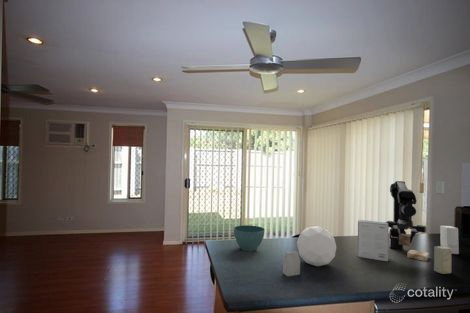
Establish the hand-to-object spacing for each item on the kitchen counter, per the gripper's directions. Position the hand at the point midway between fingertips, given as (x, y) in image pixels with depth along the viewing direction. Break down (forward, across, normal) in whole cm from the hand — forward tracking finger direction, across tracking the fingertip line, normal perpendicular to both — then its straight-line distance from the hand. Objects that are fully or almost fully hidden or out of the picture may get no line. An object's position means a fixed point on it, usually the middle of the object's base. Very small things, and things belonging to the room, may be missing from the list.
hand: (405, 242), depth 153 cm
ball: (+11, -32, -41) cm, 53 cm away
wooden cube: (+1, 0, 0) cm, 1 cm away
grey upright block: (+11, -34, -62) cm, 71 cm away
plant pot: (+11, -71, -48) cm, 86 cm away
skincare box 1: (+10, +16, +42) cm, 46 cm away
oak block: (+11, +4, +14) cm, 18 cm away
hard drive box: (+11, -15, -6) cm, 19 cm away
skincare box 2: (+11, +17, -4) cm, 20 cm away
